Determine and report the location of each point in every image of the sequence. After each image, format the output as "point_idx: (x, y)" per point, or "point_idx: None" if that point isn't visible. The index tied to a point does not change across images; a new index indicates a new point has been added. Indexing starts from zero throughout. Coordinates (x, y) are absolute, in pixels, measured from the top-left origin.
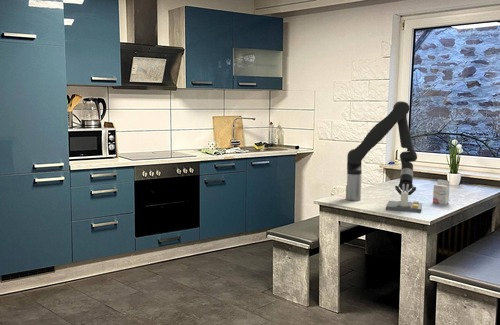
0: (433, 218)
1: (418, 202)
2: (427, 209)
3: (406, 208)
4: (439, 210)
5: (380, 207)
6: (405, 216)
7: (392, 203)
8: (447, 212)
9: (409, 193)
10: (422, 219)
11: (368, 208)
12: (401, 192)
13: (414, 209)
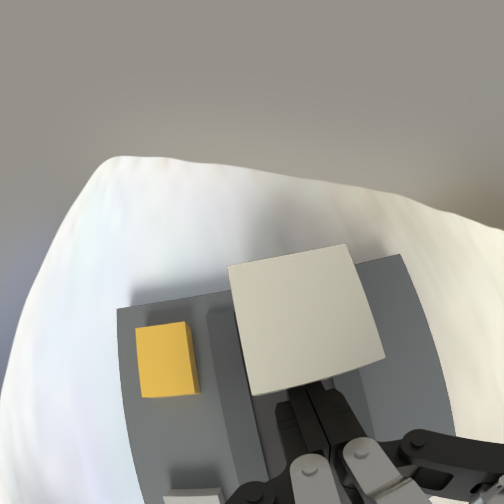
0: (76, 205)
1: (163, 496)
2: (103, 451)
3: None
4: (39, 438)
5: (447, 313)
6: (214, 166)
7: (413, 403)
8: (5, 389)
9: (253, 486)
10: (128, 161)
11: (466, 241)
12: (367, 314)
13: (171, 304)
